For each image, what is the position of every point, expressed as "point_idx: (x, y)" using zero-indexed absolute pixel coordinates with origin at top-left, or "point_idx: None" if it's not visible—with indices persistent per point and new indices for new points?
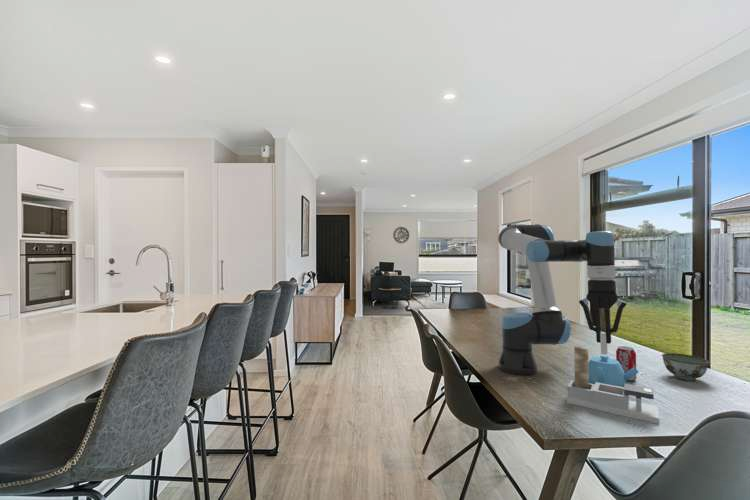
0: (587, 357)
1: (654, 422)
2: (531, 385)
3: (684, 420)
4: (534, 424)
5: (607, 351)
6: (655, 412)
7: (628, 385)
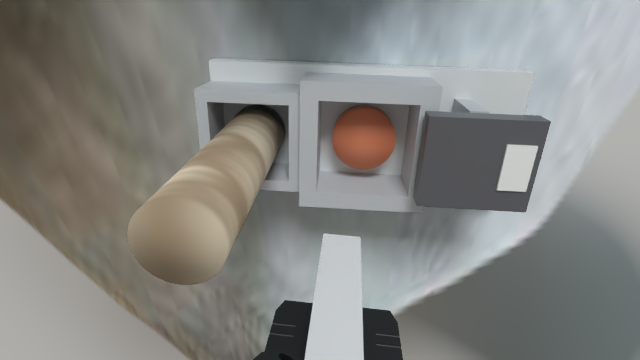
0: (241, 227)
1: None
2: (53, 62)
3: (594, 113)
4: (193, 354)
5: (360, 245)
6: None
7: (442, 141)
